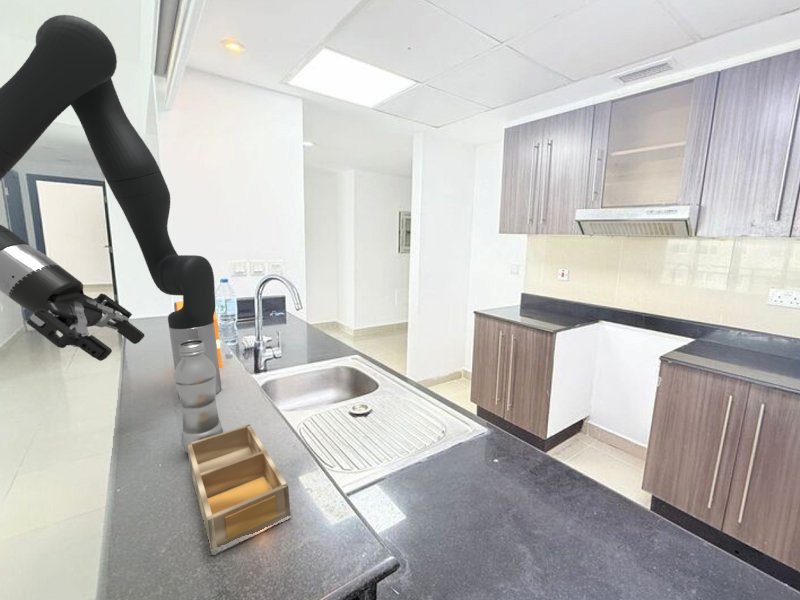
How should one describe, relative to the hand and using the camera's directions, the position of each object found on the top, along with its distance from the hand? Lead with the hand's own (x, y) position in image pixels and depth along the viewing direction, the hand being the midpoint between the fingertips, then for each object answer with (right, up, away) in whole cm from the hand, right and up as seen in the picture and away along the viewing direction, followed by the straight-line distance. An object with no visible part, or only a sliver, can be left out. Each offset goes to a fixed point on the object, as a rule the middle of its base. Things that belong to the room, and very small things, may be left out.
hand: (125, 347), depth 59 cm
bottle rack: (+21, -21, -6) cm, 30 cm away
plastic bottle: (+11, -19, +5) cm, 22 cm away
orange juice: (-11, -12, +44) cm, 47 cm away
